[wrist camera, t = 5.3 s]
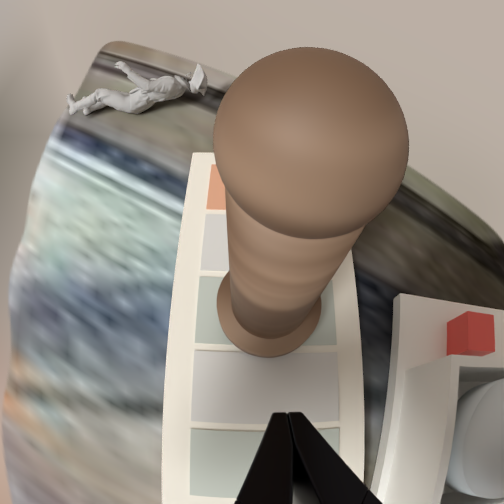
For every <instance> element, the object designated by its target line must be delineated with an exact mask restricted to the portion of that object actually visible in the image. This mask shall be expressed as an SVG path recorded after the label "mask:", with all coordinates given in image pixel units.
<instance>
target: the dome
mask: <svg viewBox="0 0 504 504" xmlns="http://www.w3.org/2000/svg"><path fill="white" fill-rule="evenodd" d="M445 483H446V485H447V486H448V487H449V488H451V489H452V490H454V491H456V492H458V493H463V494H467V495H472V496H477V497H482V498H488V499H497V498H504V379H500V380H496V381H492V382H489V383H484V384H481V385H477V386H475V387H473V388H471V389H470V390H468V391H467V392H466V393H465V394H464V395H462V396H461V398H460V399H459V400H458V401H457V410H456V420H455V428H454V435H453V442H452V449H451V455H450V460H449V466H448V471H447V476H446V480H445Z"/></svg>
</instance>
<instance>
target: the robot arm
mask: <svg viewBox="0 0 504 504" xmlns="http://www.w3.org/2000/svg"><path fill="white" fill-rule="evenodd" d="M234 504H383V503H382V502H381V501H380V500H379V499H378V498H377V497H376V496H375V495H374V494H373V493H372V492H371V491H370V490H368V487H367V486H366V485H365V484H364V483H363V482H362V481H361V480H360V479H359V478H358V476H357V475H356V474H355V473H354V472H353V471H352V470H351V469H350V467H349V466H348V465H347V464H346V463H345V462H344V461H343V460H342V458H341V457H340V456H339V455H338V454H337V453H336V452H335V450H334V449H333V448H332V447H331V446H330V445H329V443H328V442H327V441H326V440H325V439H324V438H323V436H322V435H321V434H320V433H319V432H318V431H317V429H316V428H315V427H314V426H313V425H312V423H311V422H310V421H309V420H308V419H307V417H306V416H305V415H304V414H303V413H302V412H288V413H286V412H273V413H272V415H271V417H270V420H269V422H268V425H267V427H266V430H265V433H264V435H263V437H262V440H261V442H260V445H259V447H258V450H257V452H256V455H255V457H254V459H253V462H252V464H251V466H250V469H249V471H248V473H247V476H246V478H245V480H244V483H243V485H242V487H241V489H240V492H239V494H238V496H237V498H236V501H235V502H234Z"/></svg>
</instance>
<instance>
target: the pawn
mask: <svg viewBox="0 0 504 504" xmlns="http://www.w3.org/2000/svg"><path fill="white" fill-rule="evenodd" d="M213 149H214V156H215V161H216V166H217V169H218V172H219V174H220V177H221V180H222V182H223V184H224V186H225V199H226V219H227V238H228V256H229V271H228V273H227V274H226V275H225V276H224V278H223V280H222V281H221V284H220V286H219V289H218V293H217V313H218V317H219V322H220V325H221V327H222V330H223V332H224V333H225V335H226V337H227V338H228V339H229V340H230V341H231V343H232V344H234V345H235V346H236V347H237V348H239V349H240V350H242V351H243V352H245V353H247V354H250V355H253V356H257V357H263V358H273V357H279V356H283V355H286V354H288V353H290V352H292V351H294V350H296V349H297V348H299V347H300V346H301V345H302V344H303V343H304V342H305V341H306V340H307V339H308V338H309V337H310V335H311V334H312V333H313V331H314V330H315V328H316V326H317V324H318V322H319V319H320V315H321V306H322V302H321V294H322V292H323V291H324V289H325V288H326V286H327V285H328V283H329V282H330V280H331V279H332V277H333V276H334V274H335V273H336V271H337V270H338V268H339V267H340V265H341V264H342V262H343V261H344V259H345V257H346V256H347V254H348V253H349V251H350V250H351V248H352V246H353V245H354V243H355V242H356V240H357V238H358V237H359V235H360V234H361V232H362V230H363V229H364V227H365V225H366V224H367V223H369V222H370V221H372V220H373V219H374V218H375V217H376V216H378V215H379V214H380V213H381V212H382V211H383V210H384V209H385V208H386V207H387V205H388V204H389V203H390V201H391V200H392V199H393V197H394V196H395V195H396V193H397V191H398V189H399V187H400V185H401V182H402V180H403V178H404V175H405V171H406V167H407V162H408V155H409V138H408V130H407V125H406V121H405V118H404V114H403V112H402V109H401V107H400V105H399V103H398V101H397V99H396V97H395V96H394V94H393V92H392V91H391V90H390V88H389V87H388V86H387V84H386V83H385V82H384V81H383V80H382V79H381V78H380V77H379V76H378V75H377V74H376V73H375V72H374V71H373V70H371V69H370V68H369V67H368V66H366V65H365V64H363V63H362V62H360V61H358V60H356V59H354V58H352V57H350V56H348V55H346V54H343V53H340V52H337V51H333V50H329V49H324V48H313V47H299V48H292V49H288V50H283V51H279V52H276V53H273V54H271V55H269V56H267V57H264V58H262V59H261V60H259V61H257V62H255V63H254V64H253V65H251V66H250V67H248V68H247V69H246V70H245V71H244V72H242V73H241V74H240V76H239V77H238V78H237V79H236V80H235V81H234V82H233V83H232V85H231V86H230V88H229V89H228V91H227V92H226V94H225V95H224V97H223V99H222V101H221V104H220V106H219V109H218V112H217V115H216V119H215V124H214V132H213Z"/></svg>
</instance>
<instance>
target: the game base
mask: <svg viewBox="0 0 504 504" xmlns="http://www.w3.org/2000/svg"><path fill="white" fill-rule="evenodd" d="M500 379H504V310H498V309H492V308H486V307H480V306H474V305H468V304H462V303H456V302H450V301H444V300H438V299H432V298H426V297H421V296H415V295H409V294H403V293H400V294H399V295H397V296H396V297H395V298H394V299H393V326H392V343H391V357H390V369H389V379H388V389H387V397H386V405H385V413H384V420H383V426H382V433H381V439H380V444H379V450H378V455H377V461H376V466H375V470H374V475H373V480H372V484H371V489H370V491H371V492H372V493H373V494H374V495H375V496H376V497H377V498H378V499H379V500H380V501H381V502H382V503H383V504H504V498H497V499H488V498H482V497H477V496H472V495H467V494H463V493H458V492H456V491H454V490H452V489H451V488H449V487H448V486H447V485H446V483H445V480H446V476H447V471H448V466H449V460H450V455H451V449H452V442H453V435H454V428H455V420H456V410H457V401H458V400H459V399H460V398H461V396H462V395H464V394H465V393H466V392H467V391H468V390H470V389H471V388H473V387H475V386H477V385H481V384H484V383H489V382H492V381H496V380H500Z"/></svg>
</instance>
